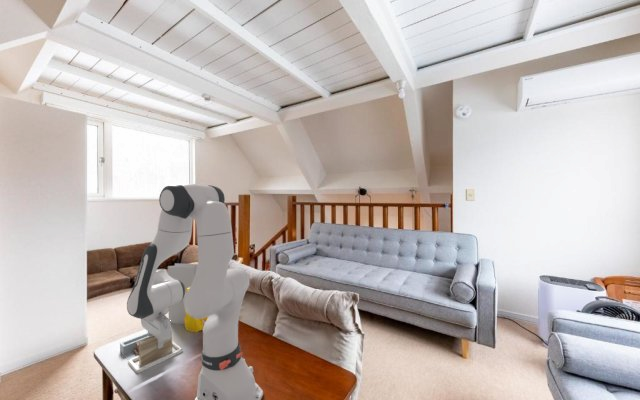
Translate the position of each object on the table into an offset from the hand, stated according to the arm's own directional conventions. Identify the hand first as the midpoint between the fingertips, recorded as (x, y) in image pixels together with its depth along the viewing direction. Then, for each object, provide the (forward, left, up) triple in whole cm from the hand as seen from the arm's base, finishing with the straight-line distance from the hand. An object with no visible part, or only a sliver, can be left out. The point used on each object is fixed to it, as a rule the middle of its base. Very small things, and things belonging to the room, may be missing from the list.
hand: (156, 344), depth 101 cm
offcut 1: (+9, 0, -5) cm, 10 cm away
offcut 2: (+9, 0, -3) cm, 9 cm away
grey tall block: (+21, -21, -6) cm, 30 cm away
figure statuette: (+9, -20, -6) cm, 23 cm away
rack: (+11, 0, -6) cm, 13 cm away
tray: (0, 0, -6) cm, 6 cm away
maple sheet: (0, 0, -6) cm, 6 cm away
